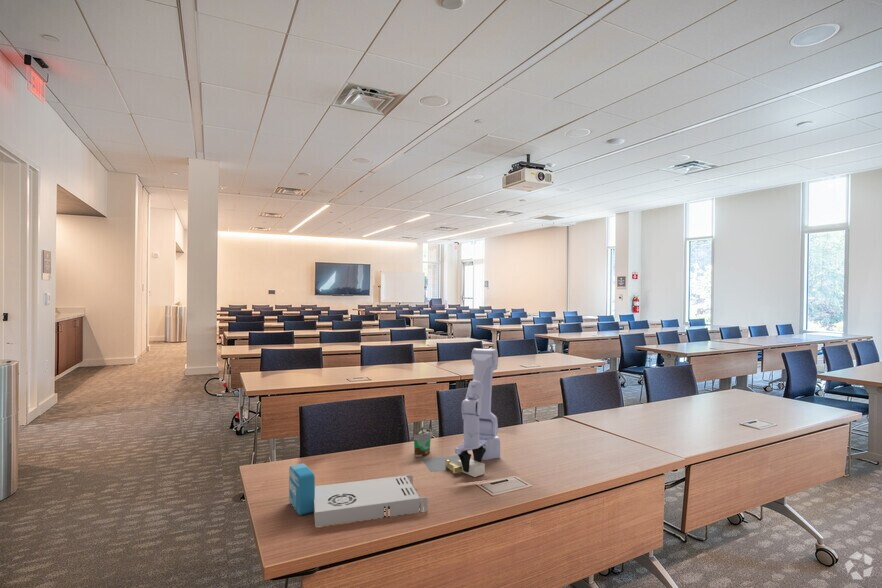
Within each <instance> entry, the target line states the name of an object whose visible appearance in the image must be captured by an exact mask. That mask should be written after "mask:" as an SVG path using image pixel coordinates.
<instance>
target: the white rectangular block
mask: <svg viewBox="0 0 882 588" xmlns="http://www.w3.org/2000/svg"><path fill="white" fill-rule="evenodd" d="M459 465H460V466H462V463H461V460H458V466H459ZM485 465H486V464H485V463H483V462H482V461H481V462H478V461H475V460H474V458H473V459H472V458H470V463H469V472H465V471H464V470H463V466H462V472H461V473H464V474H466V475H468V476H471V477H474V478H476V477H480V476H482V475H485V473H486V472H485V471H486V470H485V469H486V467H485Z"/></svg>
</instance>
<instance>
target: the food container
mask: <svg viewBox="0 0 882 588" xmlns="http://www.w3.org/2000/svg"><path fill="white" fill-rule="evenodd" d="M432 437H433V432H432V429H430V428H429V427H424V426H420V429H419V430H418V431H417V432H416V433H415V434H413V444H414V445H413V446H414V447H413V449H414V457H416V458H417V457H426V456H428V455H430V453H431V440H432V439H431V438H432Z"/></svg>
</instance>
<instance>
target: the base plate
mask: <svg viewBox="0 0 882 588" xmlns="http://www.w3.org/2000/svg"><path fill="white" fill-rule="evenodd" d="M446 459H450V460H451V462H452V463H454V464H456V465H457V466H458V460H460V458H459V456H458V454H455V455H448V456H447V455H445V456H437V457H436V456H435V457H426V458H421V460H422V462H423V463H424V465H425V466H426V468H427V469H428V471H430V473H433V472H440V471H451V470H450V469H446V468H445V460H446Z"/></svg>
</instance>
